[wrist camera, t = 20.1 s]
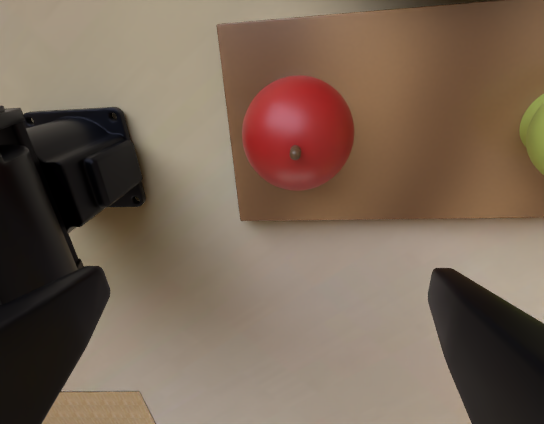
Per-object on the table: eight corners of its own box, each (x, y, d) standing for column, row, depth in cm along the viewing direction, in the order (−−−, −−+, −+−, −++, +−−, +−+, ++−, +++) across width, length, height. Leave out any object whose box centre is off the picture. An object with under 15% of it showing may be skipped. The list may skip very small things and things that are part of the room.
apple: (255, 170, 19) (235, 217, 13) (247, 75, 17) (218, 86, 11) (345, 167, 18) (361, 216, 13) (349, 68, 16) (371, 76, 11)
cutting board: (244, 210, 22) (240, 221, 21) (223, 26, 17) (216, 24, 16) (601, 205, 19) (622, 216, 18) (695, -14, 14) (735, -21, 13)
